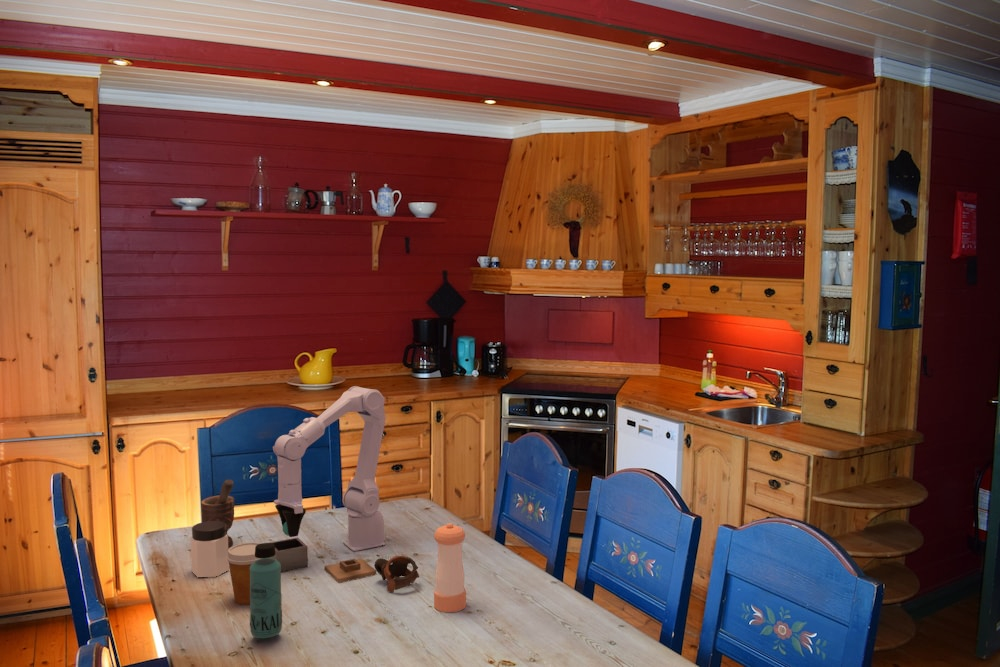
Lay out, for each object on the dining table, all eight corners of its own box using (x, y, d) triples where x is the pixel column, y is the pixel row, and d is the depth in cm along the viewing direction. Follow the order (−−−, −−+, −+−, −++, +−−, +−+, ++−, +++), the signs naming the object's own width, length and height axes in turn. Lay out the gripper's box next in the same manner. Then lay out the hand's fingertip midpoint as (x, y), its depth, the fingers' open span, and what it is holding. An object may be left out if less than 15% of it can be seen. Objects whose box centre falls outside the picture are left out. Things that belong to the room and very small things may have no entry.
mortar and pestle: (250, 544, 219) (248, 474, 217) (228, 555, 211) (226, 482, 209) (218, 539, 224) (216, 470, 222) (195, 549, 216) (193, 477, 214)
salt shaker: (441, 614, 174) (441, 530, 173) (429, 602, 181) (428, 521, 179) (471, 608, 178) (471, 525, 176) (458, 596, 184) (457, 516, 183)
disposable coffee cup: (278, 598, 183) (277, 548, 182) (240, 611, 176) (239, 559, 175) (257, 587, 189) (255, 539, 188) (219, 599, 182) (218, 549, 182)
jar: (233, 573, 198) (231, 526, 197) (200, 581, 193) (198, 533, 192) (220, 563, 205) (219, 518, 204) (188, 570, 200) (186, 524, 199)
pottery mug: (424, 580, 195) (426, 558, 190) (407, 610, 188) (408, 588, 183) (381, 563, 198) (382, 541, 193) (363, 592, 191) (362, 570, 186)
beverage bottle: (254, 632, 166) (251, 539, 164) (286, 630, 167) (283, 538, 165) (246, 646, 160) (244, 550, 158) (280, 645, 160) (277, 549, 159)
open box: (298, 557, 209) (297, 537, 209) (307, 567, 202) (307, 546, 202) (268, 563, 205) (267, 542, 204) (276, 573, 198) (276, 552, 198)
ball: (295, 532, 205) (295, 517, 205) (300, 536, 202) (300, 521, 202) (280, 534, 203) (280, 519, 203) (285, 539, 200) (285, 523, 200)
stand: (361, 562, 206) (361, 552, 206) (376, 574, 197) (376, 564, 197) (324, 569, 201) (324, 560, 200) (338, 582, 192) (338, 573, 192)
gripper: (266, 477, 206) (267, 528, 207) (282, 491, 193) (284, 544, 194) (292, 474, 209) (293, 524, 210) (310, 486, 197) (311, 539, 198)
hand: (290, 533), depth 203 cm, fingers closed on ball, 4 cm apart
